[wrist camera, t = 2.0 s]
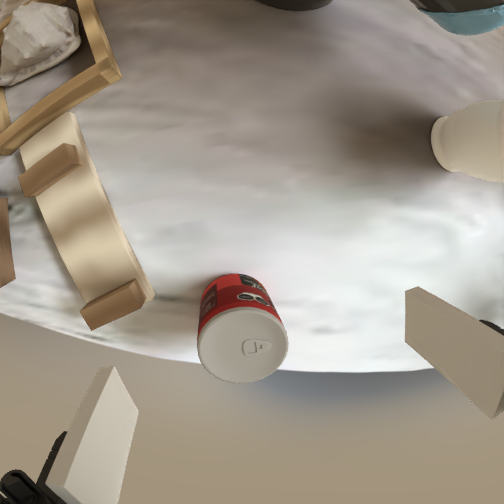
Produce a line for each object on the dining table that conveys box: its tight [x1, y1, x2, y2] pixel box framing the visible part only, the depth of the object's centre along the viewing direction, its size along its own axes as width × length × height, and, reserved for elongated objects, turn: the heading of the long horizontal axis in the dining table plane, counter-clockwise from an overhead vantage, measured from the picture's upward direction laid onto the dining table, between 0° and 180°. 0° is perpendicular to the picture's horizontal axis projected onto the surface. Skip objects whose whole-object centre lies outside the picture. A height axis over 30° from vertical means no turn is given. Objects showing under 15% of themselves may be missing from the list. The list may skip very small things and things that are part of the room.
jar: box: [431, 100, 504, 182], centre depth 27 cm, size 11×10×15 cm
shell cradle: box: [0, 0, 122, 155], centre depth 23 cm, size 20×18×4 cm
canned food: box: [197, 274, 288, 383], centre depth 30 cm, size 8×8×11 cm
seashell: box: [0, 1, 81, 86], centre depth 20 cm, size 12×14×10 cm
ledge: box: [18, 111, 156, 331], centre depth 28 cm, size 24×8×5 cm, turn 24°
